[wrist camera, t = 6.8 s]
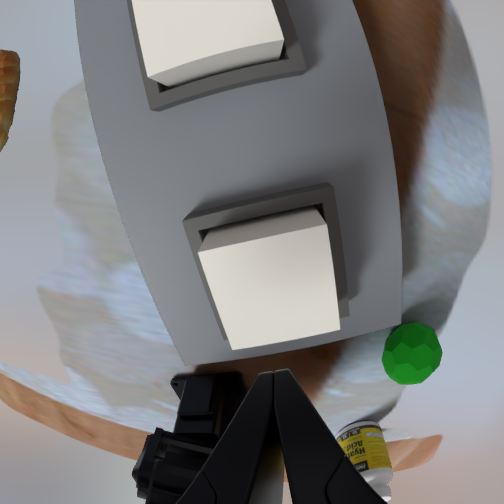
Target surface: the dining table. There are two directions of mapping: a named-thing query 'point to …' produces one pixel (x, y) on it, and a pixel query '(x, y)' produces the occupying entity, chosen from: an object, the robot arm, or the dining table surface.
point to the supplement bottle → (368, 454)
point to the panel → (249, 164)
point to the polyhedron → (411, 353)
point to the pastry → (8, 91)
